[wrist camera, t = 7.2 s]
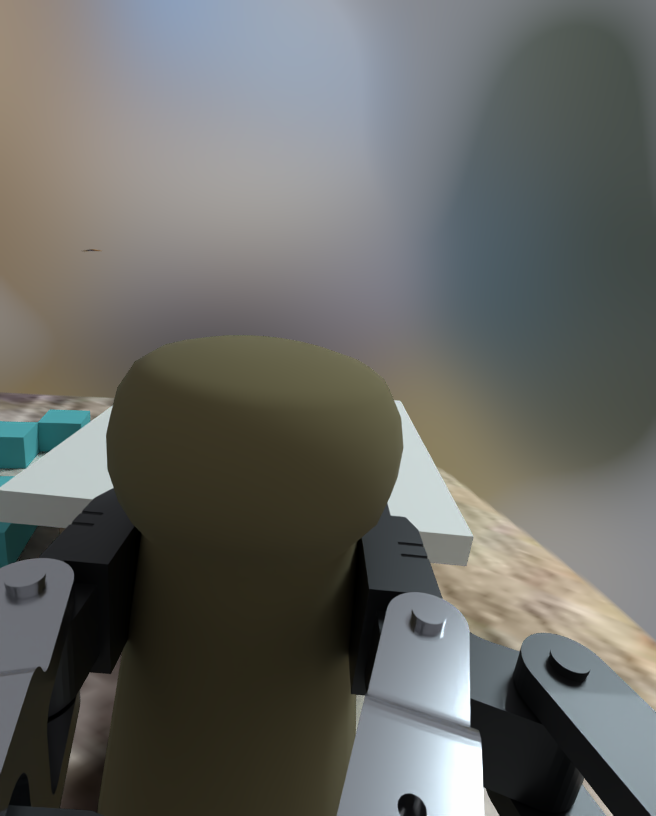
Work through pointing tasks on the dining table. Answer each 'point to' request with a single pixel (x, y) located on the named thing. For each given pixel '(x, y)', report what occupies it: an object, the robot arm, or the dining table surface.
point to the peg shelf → (88, 478)
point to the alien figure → (18, 449)
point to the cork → (242, 573)
